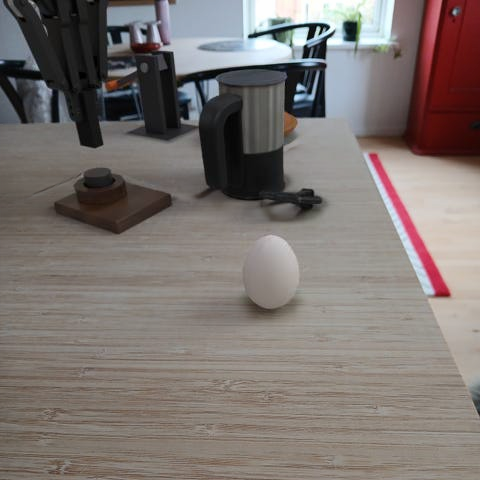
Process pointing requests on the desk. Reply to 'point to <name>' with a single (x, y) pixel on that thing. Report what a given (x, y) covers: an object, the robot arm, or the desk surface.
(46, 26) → the robot arm
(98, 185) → the stop button
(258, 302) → the egg
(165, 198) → the brown button base
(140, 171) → the desk surface
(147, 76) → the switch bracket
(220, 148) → the milk frother
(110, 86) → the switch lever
